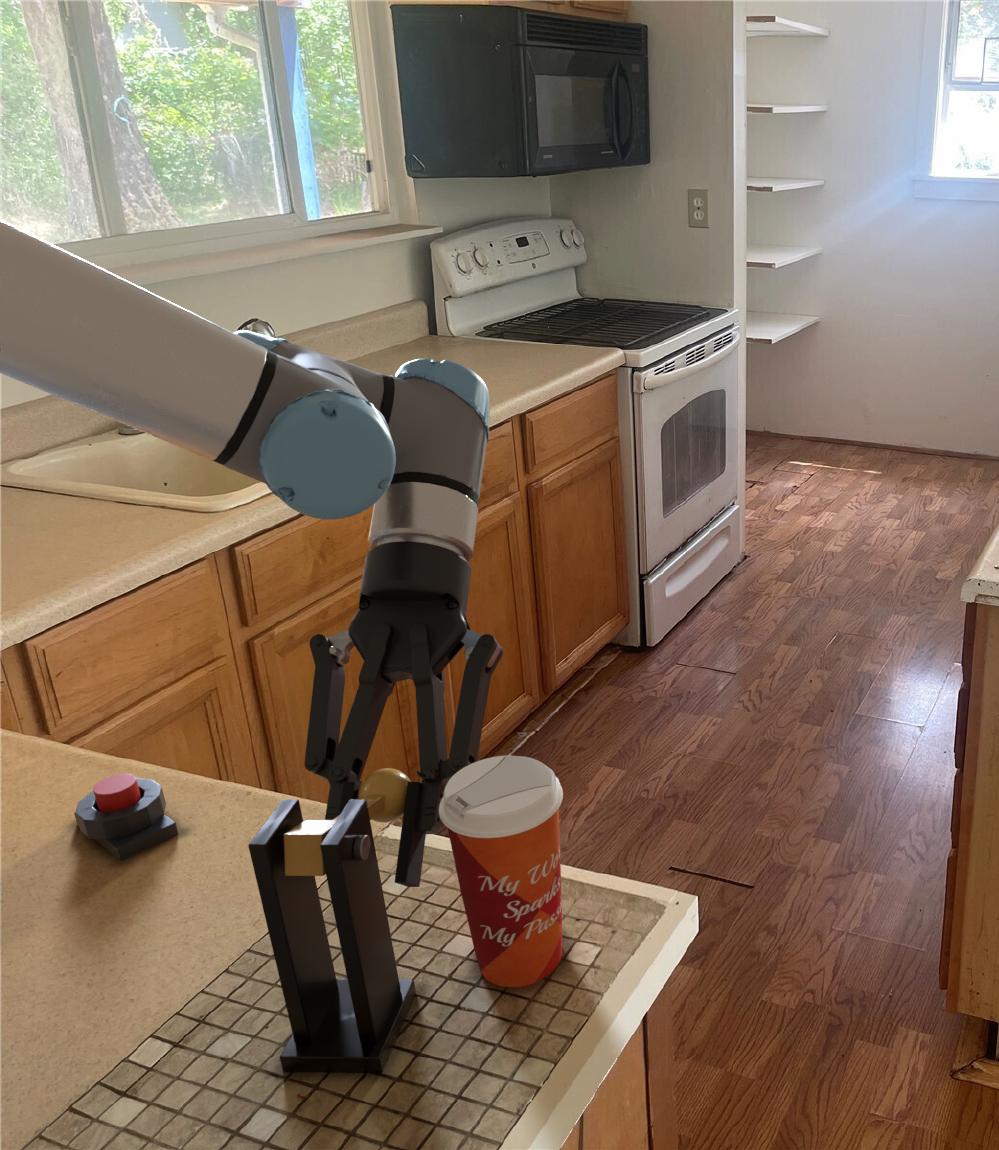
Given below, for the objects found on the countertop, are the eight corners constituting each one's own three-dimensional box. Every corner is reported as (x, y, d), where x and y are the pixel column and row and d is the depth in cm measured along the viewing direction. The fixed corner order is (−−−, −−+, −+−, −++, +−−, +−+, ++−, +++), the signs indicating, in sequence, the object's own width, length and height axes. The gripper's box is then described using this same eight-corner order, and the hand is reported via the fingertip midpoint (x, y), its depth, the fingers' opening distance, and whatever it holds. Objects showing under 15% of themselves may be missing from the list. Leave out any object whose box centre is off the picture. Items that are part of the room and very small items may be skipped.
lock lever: (370, 813, 75) (369, 762, 74) (422, 813, 75) (420, 762, 74) (272, 886, 61) (270, 823, 60) (336, 887, 60) (334, 824, 60)
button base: (67, 829, 87) (57, 798, 86) (142, 796, 91) (134, 765, 90) (111, 867, 82) (101, 835, 81) (188, 830, 87) (180, 799, 86)
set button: (91, 804, 86) (86, 785, 85) (130, 787, 88) (125, 769, 87) (108, 817, 84) (102, 799, 83) (147, 800, 86) (142, 781, 85)
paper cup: (504, 1019, 68) (479, 835, 63) (440, 960, 73) (412, 784, 68) (602, 955, 73) (587, 780, 68) (536, 904, 78) (518, 737, 73)
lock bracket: (325, 993, 70) (281, 789, 64) (416, 994, 70) (381, 789, 64) (282, 1073, 64) (229, 856, 58) (382, 1074, 64) (339, 856, 58)
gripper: (543, 576, 83) (514, 891, 74) (328, 576, 83) (274, 890, 74) (520, 535, 76) (485, 878, 67) (286, 536, 76) (221, 877, 67)
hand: (374, 883), depth 71 cm, fingers closed on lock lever, 4 cm apart
